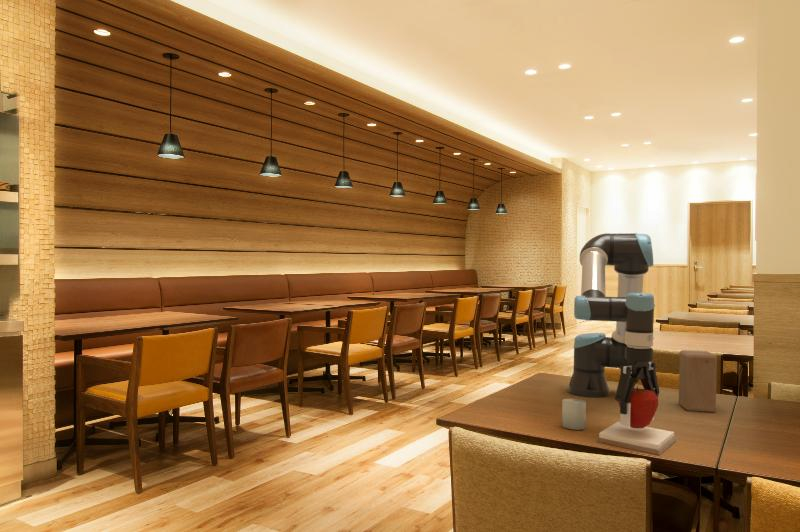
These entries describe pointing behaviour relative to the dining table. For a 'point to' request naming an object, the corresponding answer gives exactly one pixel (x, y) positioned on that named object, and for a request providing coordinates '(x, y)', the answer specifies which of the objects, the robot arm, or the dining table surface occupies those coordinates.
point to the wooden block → (697, 380)
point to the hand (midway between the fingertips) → (637, 422)
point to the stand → (637, 438)
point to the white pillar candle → (573, 414)
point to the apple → (642, 407)
